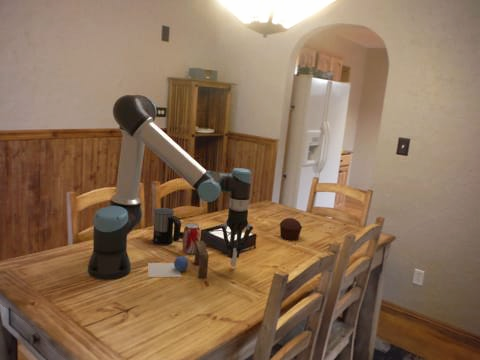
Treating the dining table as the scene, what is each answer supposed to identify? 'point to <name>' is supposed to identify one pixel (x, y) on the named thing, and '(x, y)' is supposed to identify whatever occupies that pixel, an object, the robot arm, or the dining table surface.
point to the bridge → (201, 259)
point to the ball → (181, 263)
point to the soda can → (190, 237)
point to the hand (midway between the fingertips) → (233, 265)
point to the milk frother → (166, 227)
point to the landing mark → (162, 270)
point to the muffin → (290, 229)
